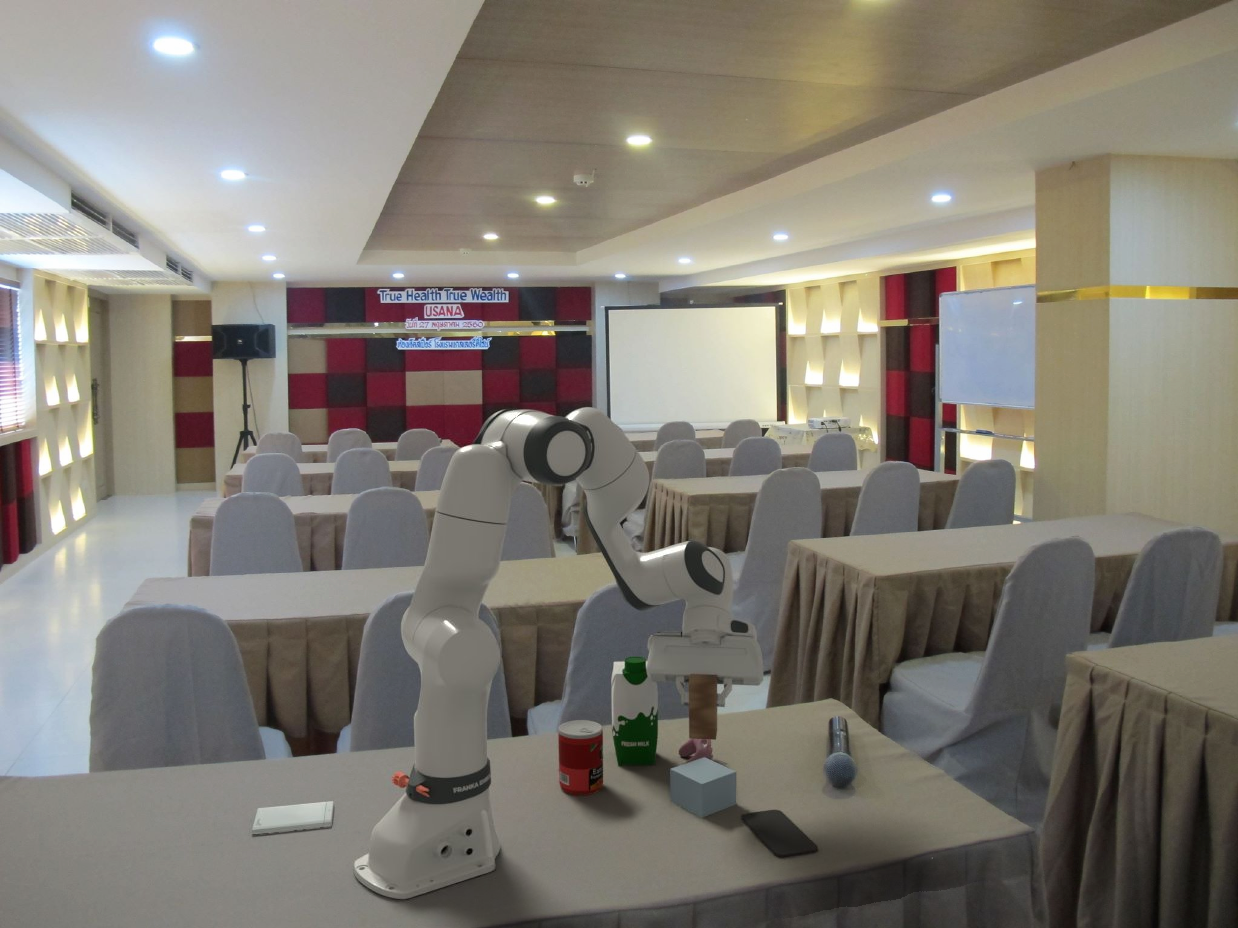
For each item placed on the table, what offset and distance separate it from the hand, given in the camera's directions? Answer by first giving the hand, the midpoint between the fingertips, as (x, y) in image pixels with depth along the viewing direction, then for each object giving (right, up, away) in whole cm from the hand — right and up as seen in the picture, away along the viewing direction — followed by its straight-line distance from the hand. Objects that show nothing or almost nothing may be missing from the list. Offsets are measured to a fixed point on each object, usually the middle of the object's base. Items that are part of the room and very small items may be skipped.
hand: (703, 704), depth 172 cm
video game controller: (0, -16, +19) cm, 24 cm away
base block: (0, -18, +2) cm, 18 cm away
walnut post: (0, -5, +1) cm, 5 cm away
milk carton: (-11, -16, +22) cm, 29 cm away
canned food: (-21, -17, +9) cm, 29 cm away
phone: (+11, -19, -9) cm, 24 cm away
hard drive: (-69, -19, -2) cm, 71 cm away
